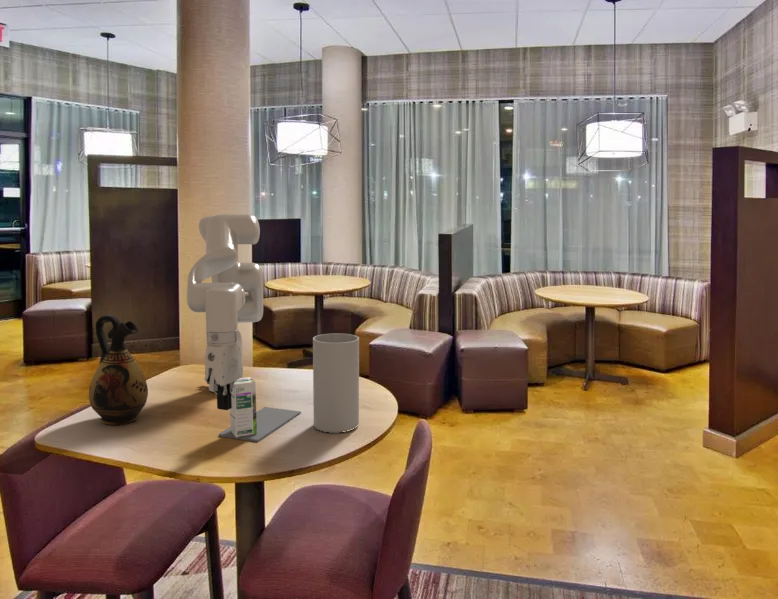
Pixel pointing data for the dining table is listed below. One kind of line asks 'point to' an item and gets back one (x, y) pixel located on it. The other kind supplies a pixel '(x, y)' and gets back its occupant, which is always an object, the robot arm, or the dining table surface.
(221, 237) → the robot arm
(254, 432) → the syrup box
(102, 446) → the dining table surface
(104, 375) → the ceramic jug
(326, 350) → the cylinder vase
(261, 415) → the slate mat
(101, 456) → the dining table surface
